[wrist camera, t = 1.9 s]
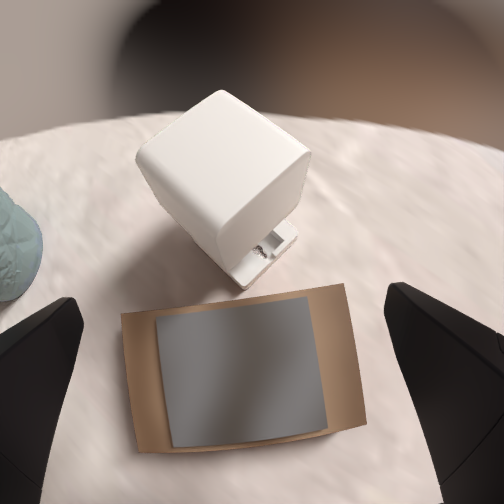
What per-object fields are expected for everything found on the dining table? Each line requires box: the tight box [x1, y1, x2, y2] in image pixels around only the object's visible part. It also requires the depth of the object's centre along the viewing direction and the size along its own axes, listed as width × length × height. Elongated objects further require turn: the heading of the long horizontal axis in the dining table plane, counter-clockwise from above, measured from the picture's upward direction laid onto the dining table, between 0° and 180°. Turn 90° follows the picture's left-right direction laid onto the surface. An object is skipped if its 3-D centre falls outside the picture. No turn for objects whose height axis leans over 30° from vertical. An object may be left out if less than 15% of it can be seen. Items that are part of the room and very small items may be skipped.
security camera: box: [135, 90, 311, 290], centre depth 19 cm, size 6×7×10 cm
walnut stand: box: [121, 283, 367, 453], centre depth 19 cm, size 14×9×4 cm, turn 98°
